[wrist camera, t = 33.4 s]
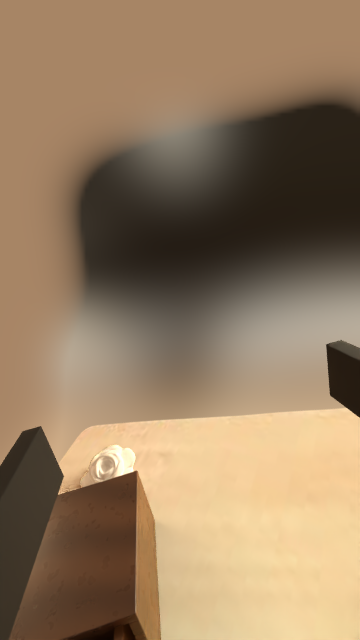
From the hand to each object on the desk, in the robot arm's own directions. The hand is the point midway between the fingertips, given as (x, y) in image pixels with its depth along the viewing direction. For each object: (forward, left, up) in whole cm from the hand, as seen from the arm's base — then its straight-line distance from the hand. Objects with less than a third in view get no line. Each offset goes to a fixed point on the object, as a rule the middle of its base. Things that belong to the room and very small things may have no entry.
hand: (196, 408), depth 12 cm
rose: (+34, -8, -30) cm, 46 cm away
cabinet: (+20, +4, -30) cm, 36 cm away
